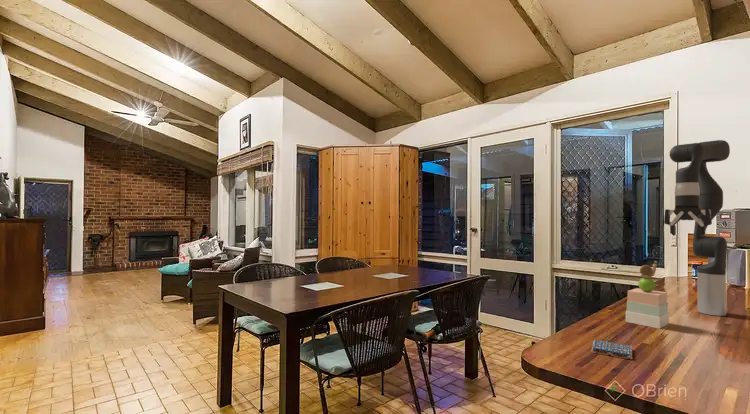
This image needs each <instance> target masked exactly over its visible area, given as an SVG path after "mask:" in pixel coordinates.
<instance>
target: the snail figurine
mask: <svg viewBox="0 0 750 414" xmlns="http://www.w3.org/2000/svg"><path fill="white" fill-rule="evenodd" d="M657 263H658V260H654V263H653V264H652V267H651V265H648V264H643V265H641V266H640V268H639V272H640V274H639V276H640V277H641V278H640V280H638V287H639V289H641V290H643V291H645V292H651V291H655V289H656V287H657V286H656V282H655V280H654V279H652V278H653V277H654V276H655V274H656V271H657V267H658V266H657Z"/></svg>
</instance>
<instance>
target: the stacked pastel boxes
mask: <svg viewBox="0 0 750 414" xmlns="http://www.w3.org/2000/svg"><path fill="white" fill-rule="evenodd" d="M667 294H668V292H665V291H661V290H660V291H658V290H653V291H651V292H645V291H643V290H641V289H640V287H639V288H638V287H636V288H633V289H630V290H629V289H628V290H627V300H626V311H625V322H626V323H631V324H636V325H640V326H645V327H650V328H654V329H661V328H663V327H665V326H667V325H669V324H670V320H669V319H670V317H669V316H670V315H669V314H670V313H669V312H668V310H669V309H668V301H667V300H668V299H667V298H668V297H667V296H668V295H667Z"/></svg>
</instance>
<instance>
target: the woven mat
mask: <svg viewBox="0 0 750 414" xmlns="http://www.w3.org/2000/svg"><path fill="white" fill-rule="evenodd" d="M592 341H593V342H592V347H591V350H590V351H591V353H594V354H599V355H605V356H611V357H617V358H621V359H627V360H632V359H633V350H632V346H631V345H629V344H628V345H627V343H626V344H623V343H617V342H616V343H615V342H614V341H613V342H611V341H610V342H609V341H606V340H602V339H601V340H599V339H598V340H597V338H595V339H594V340H593V339H592Z"/></svg>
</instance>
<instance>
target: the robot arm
mask: <svg viewBox="0 0 750 414" xmlns="http://www.w3.org/2000/svg"><path fill="white" fill-rule="evenodd" d="M730 153H731V148H730V144H729V143H728V141H726V140H724V139H717V140H710V141H709V140H707V141H701V142H692V143H684V144H676V145H674V146H673V147H672V148H670V151H669V158H670V159H671V161H672V162H674V163H677V164H679V163H689V165H687V166H685V167H680V168H678V169H677V170H676V171H675V187H674V209H668V208H667V209H665V210H664V218H663V219H664V222H663V224H665V225H668V226H669V230H670V231H669V232H670V234H671V235H672V236H676V235H677V226H676V224H677V223H678V222H680V221H694V227H693V228H694V230H693V238H692V239H693V240H692V252H693V254H694V256H695V257H699V258H700V257H701V258H713V261H712V262H710V263H705V264H701V265H698V266H697V270H696V271H697V279H696V280H697V292H696V293H697V313H700V314H704V315H710V316H721V317H723V316H727V257H728V255H727V253H728V243H727V239H726V238H725V237H723V236H714V235H713V236H711V235H706V232H707V228H708V226H711V225H712V224H713V219H714V218H715V217H716V216H717V215H718V214H719V213H720V211H722V209H723V206H724V191H723V188H722V187H721V186H720V185H719V183H718V182H717V181H716V180H715V179H714V178H713V177H712V175H711V174H710V172H709V170H708V168H707V163H714V162H722V161H725V160H727V159H728V158H729V157H730ZM673 213H674V214H675V217H674V218H673V220H672V221H671V216H672V214H673Z"/></svg>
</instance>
